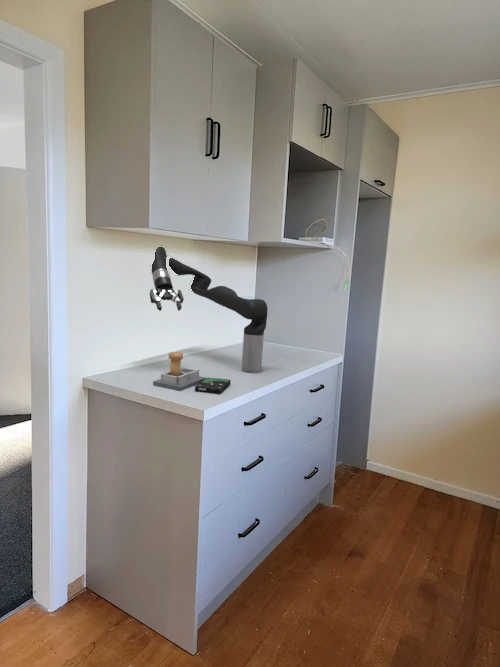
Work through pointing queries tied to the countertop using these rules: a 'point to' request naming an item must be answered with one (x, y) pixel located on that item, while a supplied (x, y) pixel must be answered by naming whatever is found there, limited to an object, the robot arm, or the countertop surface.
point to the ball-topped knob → (175, 363)
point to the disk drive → (212, 385)
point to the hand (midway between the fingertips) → (170, 309)
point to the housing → (180, 379)
